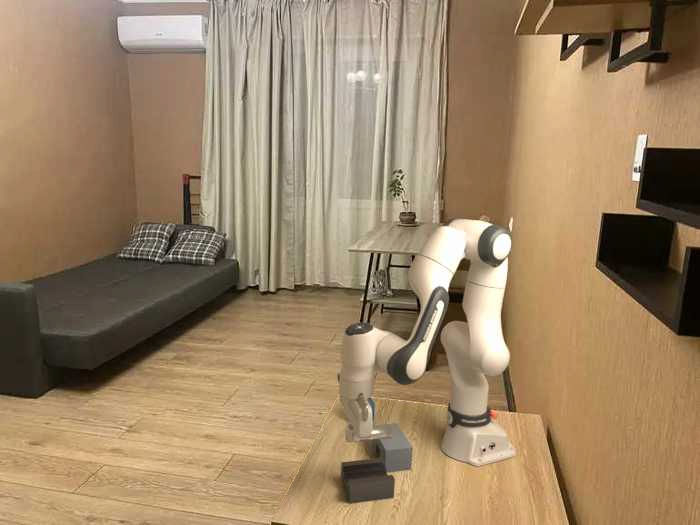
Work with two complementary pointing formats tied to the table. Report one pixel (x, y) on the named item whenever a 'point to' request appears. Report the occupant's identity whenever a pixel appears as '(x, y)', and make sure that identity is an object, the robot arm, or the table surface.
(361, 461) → the v block
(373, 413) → the perfume bottle
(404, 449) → the grey block
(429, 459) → the table surface
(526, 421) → the table surface
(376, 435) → the axle
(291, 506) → the table surface
